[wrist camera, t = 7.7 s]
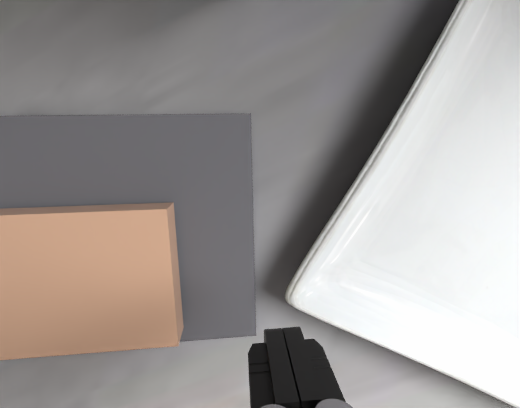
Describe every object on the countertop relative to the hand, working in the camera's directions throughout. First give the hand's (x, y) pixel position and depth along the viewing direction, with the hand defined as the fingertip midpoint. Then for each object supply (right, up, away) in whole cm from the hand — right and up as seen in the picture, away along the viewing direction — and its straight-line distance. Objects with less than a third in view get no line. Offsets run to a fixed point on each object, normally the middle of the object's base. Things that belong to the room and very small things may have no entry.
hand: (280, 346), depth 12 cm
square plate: (+18, +6, +11) cm, 22 cm away
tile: (-6, +1, +7) cm, 9 cm away
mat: (-12, +4, +8) cm, 15 cm away
